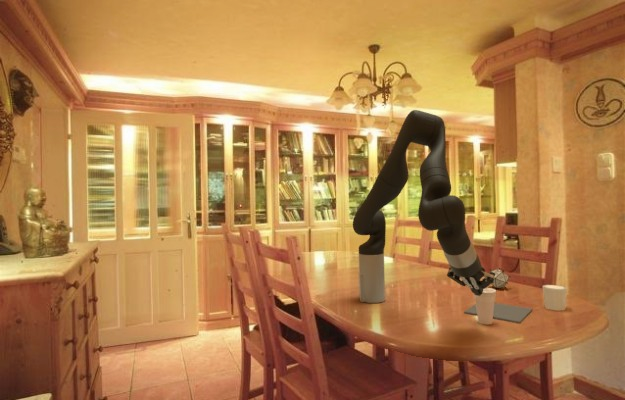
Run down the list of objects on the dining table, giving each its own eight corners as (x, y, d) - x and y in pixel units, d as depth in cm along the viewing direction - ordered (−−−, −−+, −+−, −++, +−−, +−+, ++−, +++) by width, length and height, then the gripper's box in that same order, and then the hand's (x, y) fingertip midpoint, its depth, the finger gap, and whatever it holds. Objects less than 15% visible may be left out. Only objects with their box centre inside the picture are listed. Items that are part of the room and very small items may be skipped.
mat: (519, 323, 107) (519, 321, 107) (464, 313, 118) (464, 311, 118) (532, 310, 119) (532, 308, 119) (480, 301, 130) (480, 300, 130)
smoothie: (496, 327, 104) (494, 278, 104) (471, 323, 108) (470, 276, 108) (498, 320, 110) (497, 274, 110) (475, 317, 113) (474, 272, 113)
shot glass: (560, 312, 116) (559, 290, 116) (538, 307, 122) (537, 286, 122) (572, 309, 119) (571, 287, 119) (550, 304, 125) (549, 283, 125)
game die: (503, 298, 146) (516, 281, 141) (482, 290, 148) (493, 273, 142) (502, 283, 154) (513, 266, 148) (481, 275, 155) (492, 259, 149)
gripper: (491, 246, 94) (506, 285, 103) (440, 242, 102) (458, 278, 112) (484, 270, 90) (501, 308, 99) (432, 264, 99) (452, 300, 108)
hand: (478, 292), depth 105 cm, fingers closed
